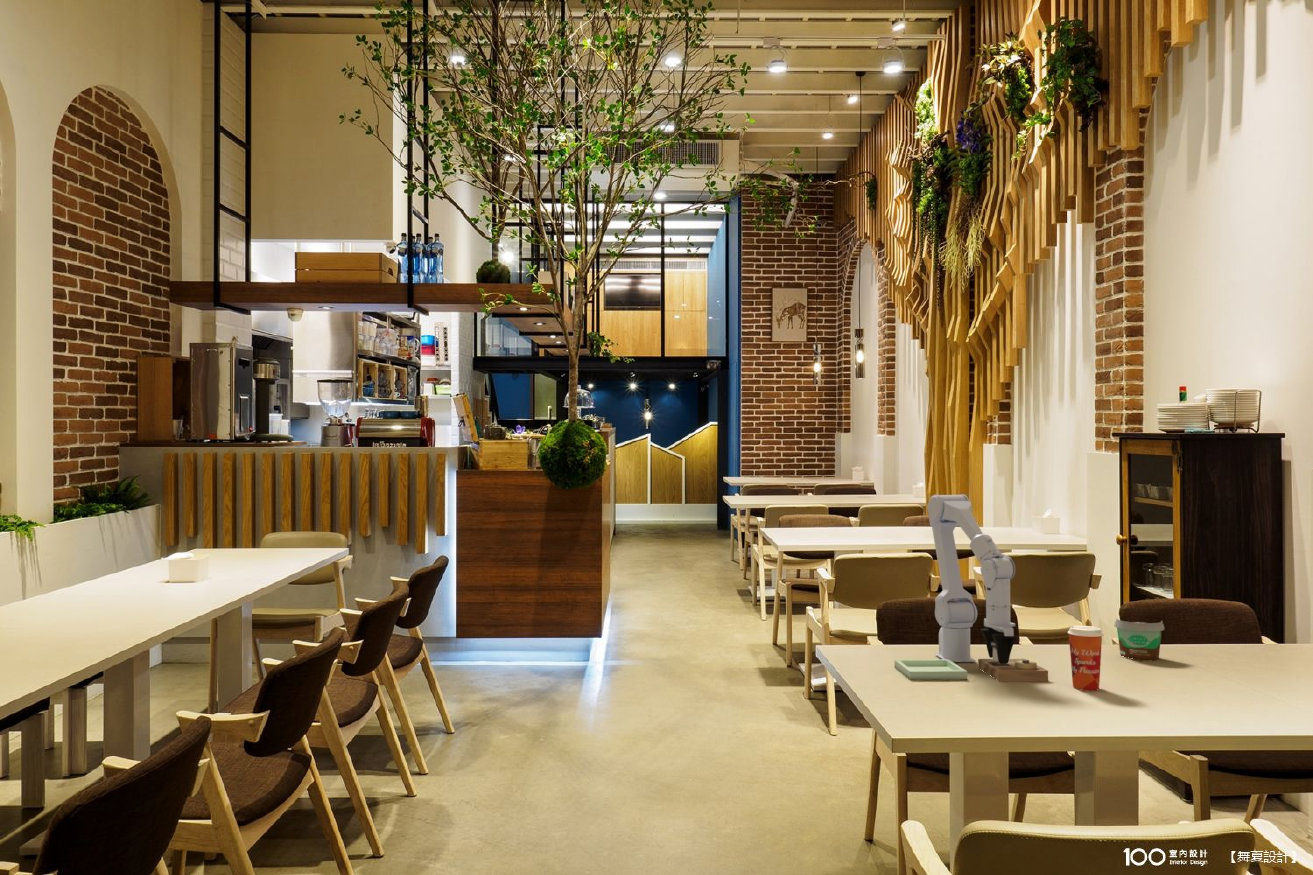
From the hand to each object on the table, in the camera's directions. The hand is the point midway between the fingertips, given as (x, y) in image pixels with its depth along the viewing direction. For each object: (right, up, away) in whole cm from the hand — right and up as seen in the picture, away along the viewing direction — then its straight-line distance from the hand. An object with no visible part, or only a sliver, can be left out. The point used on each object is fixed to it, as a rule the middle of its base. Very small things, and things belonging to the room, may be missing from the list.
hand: (998, 660), depth 241 cm
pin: (0, -3, 0) cm, 3 cm away
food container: (+45, -4, +18) cm, 48 cm away
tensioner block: (+3, -3, -1) cm, 5 cm away
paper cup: (+15, -3, -15) cm, 22 cm away
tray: (-17, -3, +1) cm, 17 cm away
